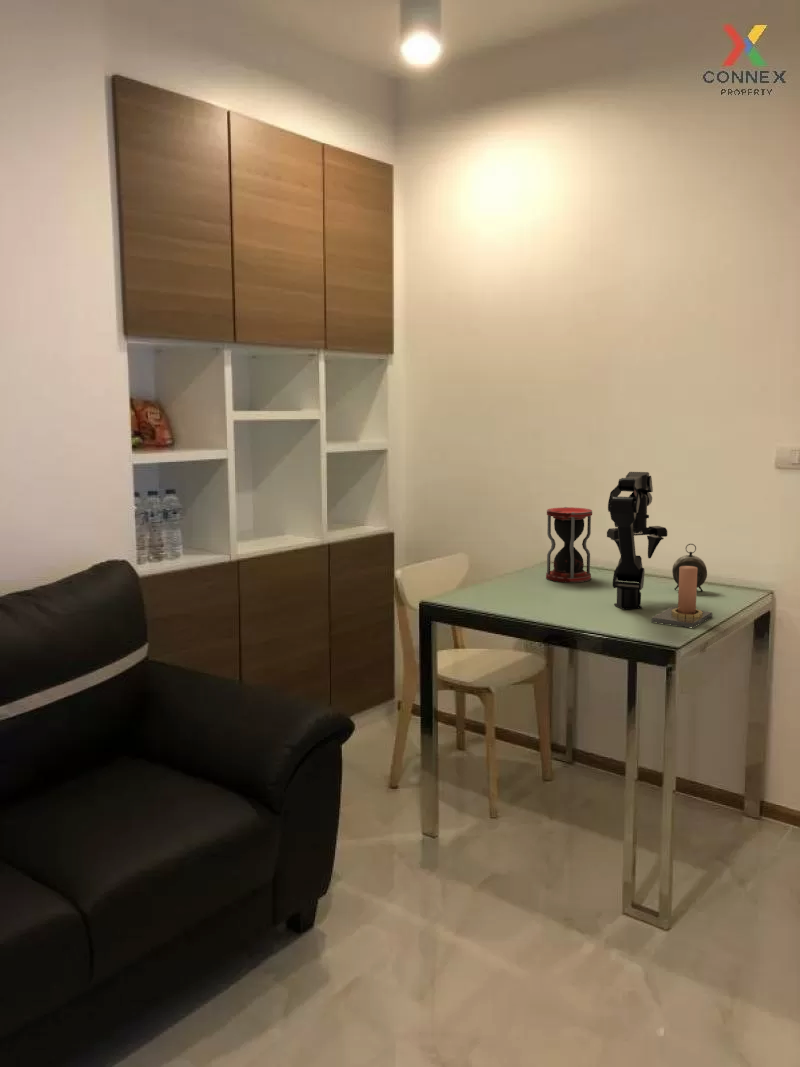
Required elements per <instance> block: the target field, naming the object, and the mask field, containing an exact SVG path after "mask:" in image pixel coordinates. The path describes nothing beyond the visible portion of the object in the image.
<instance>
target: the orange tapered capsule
mask: <svg viewBox="0 0 800 1067" xmlns="http://www.w3.org/2000/svg"><path fill="white" fill-rule="evenodd" d="M697 590H698V588H697V567H694V566H680V567H679V587H678V592H677V593H678V597H677V607H678V613H683V614H696V609H697Z"/></svg>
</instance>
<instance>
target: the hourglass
mask: <svg viewBox="0 0 800 1067" xmlns="http://www.w3.org/2000/svg"><path fill="white" fill-rule="evenodd" d="M546 515H547V537H548V538H549V540H550V543H551V547H550V549H549V550H548V552H547V555H546V572H545V578H546V579H547V580H548V579H549V580H548V581H551V580H553V581H552V582H556V581H558V582H557V583H570V582H574V583H584V581H585V582H588V581H590V580H591V579H592V573H591V553H590V550H589V549H588V547H587V542H588V541H587V540H588V539H589V538H590V536H591V534H592V533H591V532H592V530H591V527H592V526H591V525H592V524H591V522H592V515H593V510H592V509H591V508H585V507H571V506H570V507H567V506H565V507H552V508H547V509H546ZM586 518H587V525H586V526H587V527H586V528H587V529H586V531H587V534H586V535H585V537H584V538H583V540H582V544H581V546H582V549H583V550H584V551H585V554H586V570H584V565H585V563H584V558H583V557H582V554H581V553H580V552H579V551H578V549H576V547H575V546H574V545H575V544H574V543H575V542H576V541H577V540H578V539H579V538H580V536H581V535H582V534H583V532H584V528H585V519H586ZM552 519H554V522H553V523H554V524H553V527H554V528H553V529H554V531H555V532H556V535H557V536H558V538H560V539H561V541H562V542H563V547H562V548H561V549H559V551H558V552H557V553H556V554H555V556H554V558H553V569H552V570H551V554H552V552H553V551H554V550H555V549H556V541H555V539H554V538H553V536H552V534H551V532H552V526H551V525H552V524H551V523H552Z"/></svg>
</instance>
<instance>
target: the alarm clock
mask: <svg viewBox="0 0 800 1067" xmlns="http://www.w3.org/2000/svg"><path fill="white" fill-rule="evenodd" d="M690 545H692V546H694V551H688V550H687V549H688V546H690ZM696 551H697V546H696V545H695V544H694V543H688V544H687V545H686V546H685V552H686V553H688V554H686V555H682V556H680V557H679V558H678V559H677V560H676V561H675V562H674V563H673V565H672V572H671V573H672V577H673V580H674V581H675V583H676V586H675V587H674V590H678V589H679V567H680V566H694V567H697V589H699V590H700V592H703V591H704V589H702V587H701V586H703V584H704V583H705V582H706V580H707V577H708V570H707V566H706V563H705V562H704V561H703V560H702V558H700V557H698V556H696V555H693V554H694V553H695V552H696Z"/></svg>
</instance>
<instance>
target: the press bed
mask: <svg viewBox="0 0 800 1067" xmlns="http://www.w3.org/2000/svg"><path fill="white" fill-rule="evenodd" d="M710 617H711V618H713V612H712V611H708V610H707V611H706V610H700V609H698V608H696V614H683V613H678V606H671V607H669V608H667V609H666V610H663V611H662V612H660V613H657V614H656V615H653V616H652V617H651V623H652V622H657V623H656V624H659V623H663V624H662V625H665V624H671V625H670V626H672V625H677V626H676V627H679V626H685V627H692V628H693V627H694V626H696V625H698V624H699V625H701V624H702V622H703V623H704V621H705V620H706V621H708V620H709V618H710ZM711 618H710V619H711ZM707 619H708V620H707ZM706 621H705V622H706ZM700 623H701V624H700ZM699 625H698V626H699ZM685 627H684V628H685ZM696 627H697V626H696ZM692 628H691V629H692ZM694 628H695V627H694ZM694 628H693V629H694Z"/></svg>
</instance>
